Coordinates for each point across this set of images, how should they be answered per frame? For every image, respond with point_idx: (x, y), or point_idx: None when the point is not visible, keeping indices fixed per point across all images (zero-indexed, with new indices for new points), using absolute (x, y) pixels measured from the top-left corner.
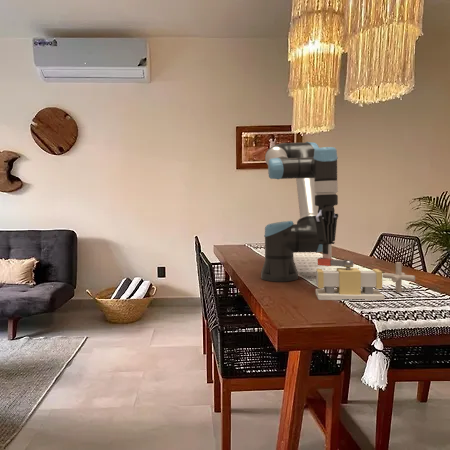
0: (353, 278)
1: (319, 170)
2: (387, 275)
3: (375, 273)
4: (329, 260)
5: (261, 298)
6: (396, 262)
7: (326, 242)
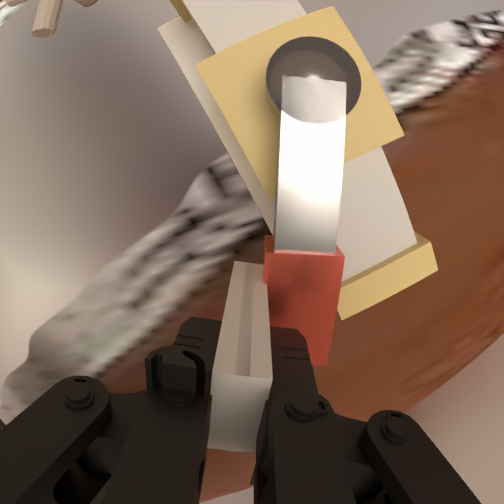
0: None
1: None
2: (55, 9)
3: None
4: (340, 260)
5: (434, 382)
6: None
7: (372, 418)
